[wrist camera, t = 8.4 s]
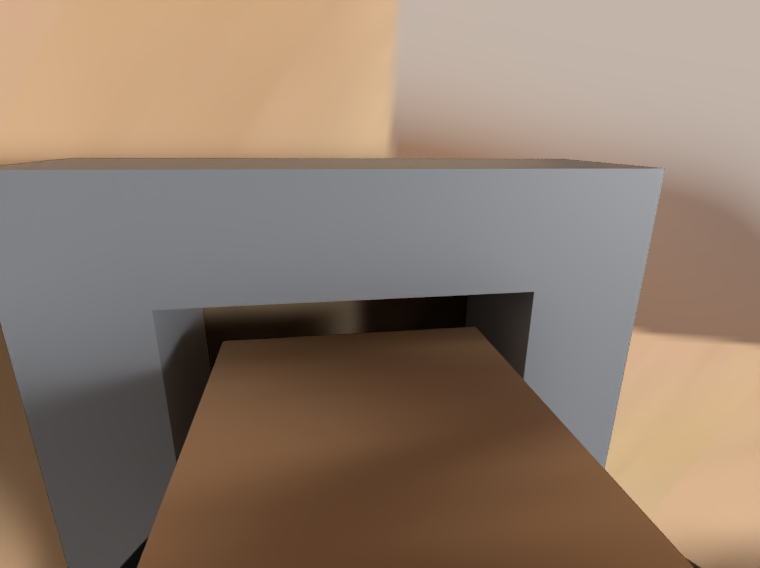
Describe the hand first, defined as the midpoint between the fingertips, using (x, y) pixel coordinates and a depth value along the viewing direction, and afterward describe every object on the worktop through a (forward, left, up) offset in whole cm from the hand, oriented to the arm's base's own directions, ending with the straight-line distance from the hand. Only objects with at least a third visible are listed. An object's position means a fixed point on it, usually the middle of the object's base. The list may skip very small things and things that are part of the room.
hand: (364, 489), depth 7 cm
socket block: (0, 0, -4) cm, 4 cm away
